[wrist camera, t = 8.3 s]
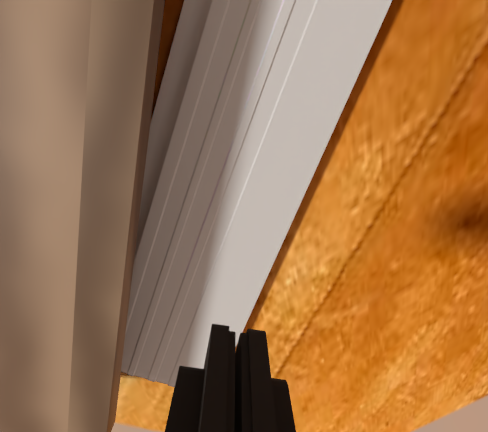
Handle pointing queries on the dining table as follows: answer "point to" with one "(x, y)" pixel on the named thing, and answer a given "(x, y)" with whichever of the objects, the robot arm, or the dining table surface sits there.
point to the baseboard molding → (233, 162)
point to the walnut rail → (70, 202)
